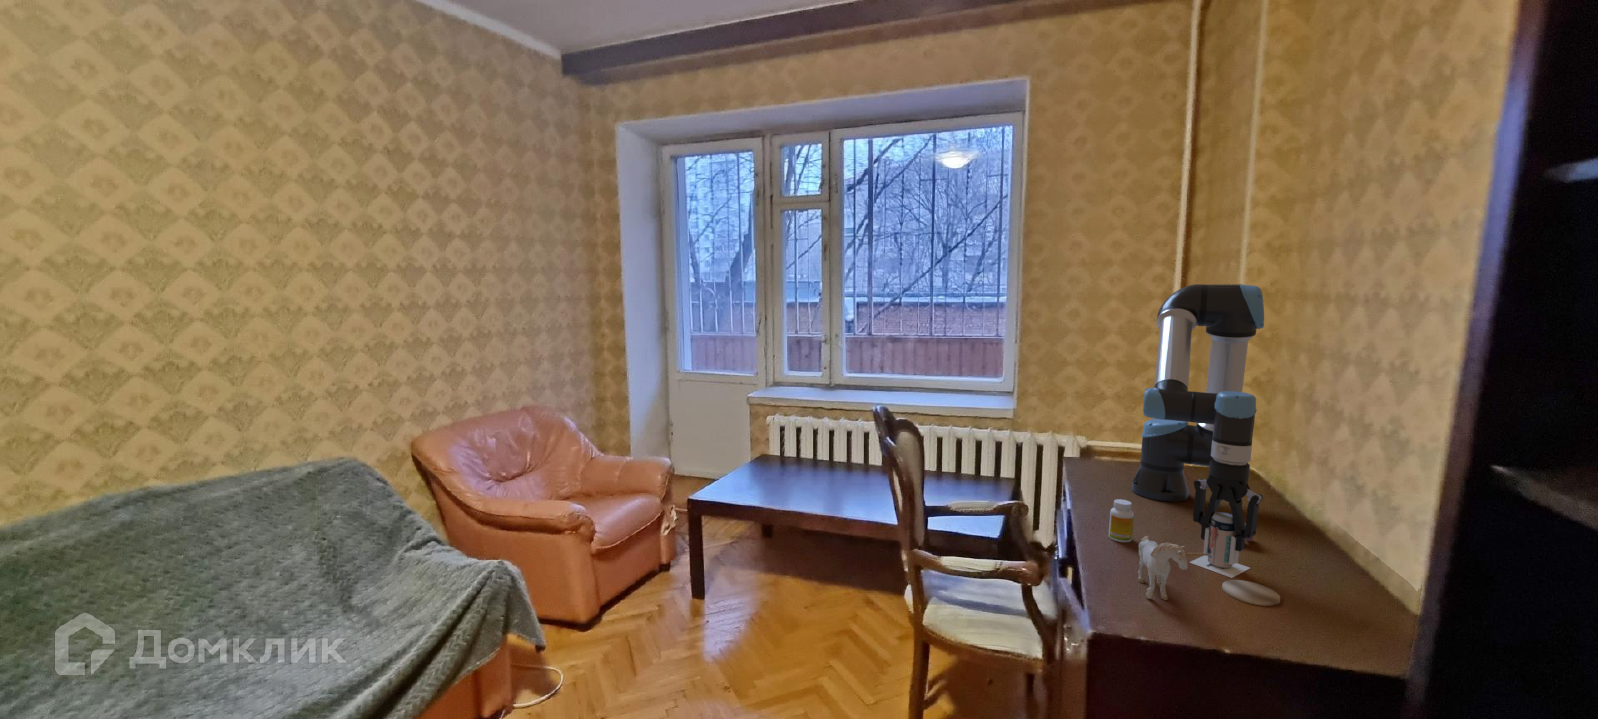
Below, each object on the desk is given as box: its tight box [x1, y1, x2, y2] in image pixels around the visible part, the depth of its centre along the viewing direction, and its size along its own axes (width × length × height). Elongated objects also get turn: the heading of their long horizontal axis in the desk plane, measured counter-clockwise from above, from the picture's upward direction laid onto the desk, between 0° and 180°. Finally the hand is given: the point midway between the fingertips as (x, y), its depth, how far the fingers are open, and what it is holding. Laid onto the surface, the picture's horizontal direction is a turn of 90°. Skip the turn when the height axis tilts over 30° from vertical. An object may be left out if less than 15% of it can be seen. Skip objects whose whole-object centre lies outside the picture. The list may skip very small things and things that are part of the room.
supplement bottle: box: [1108, 498, 1135, 543], centre depth 162 cm, size 5×5×10 cm
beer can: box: [1208, 511, 1235, 568], centre depth 147 cm, size 5×5×12 cm
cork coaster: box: [1221, 579, 1281, 607], centre depth 135 cm, size 10×10×1 cm
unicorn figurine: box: [1137, 535, 1209, 601], centre depth 133 cm, size 7×20×13 cm, turn 2°
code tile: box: [1189, 555, 1251, 579], centre depth 148 cm, size 9×9×1 cm
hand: (1220, 558), depth 148 cm, fingers closed on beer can, 5 cm apart
